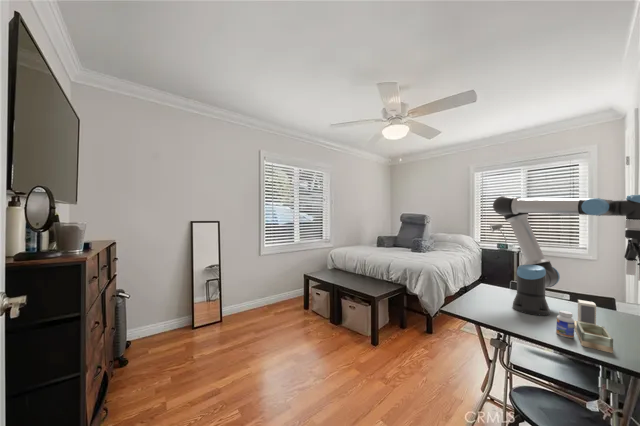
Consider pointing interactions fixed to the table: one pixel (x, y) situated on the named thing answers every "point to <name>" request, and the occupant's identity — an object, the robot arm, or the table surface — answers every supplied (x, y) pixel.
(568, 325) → the pill bottle
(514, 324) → the table surface
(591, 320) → the white upright block
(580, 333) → the tray
